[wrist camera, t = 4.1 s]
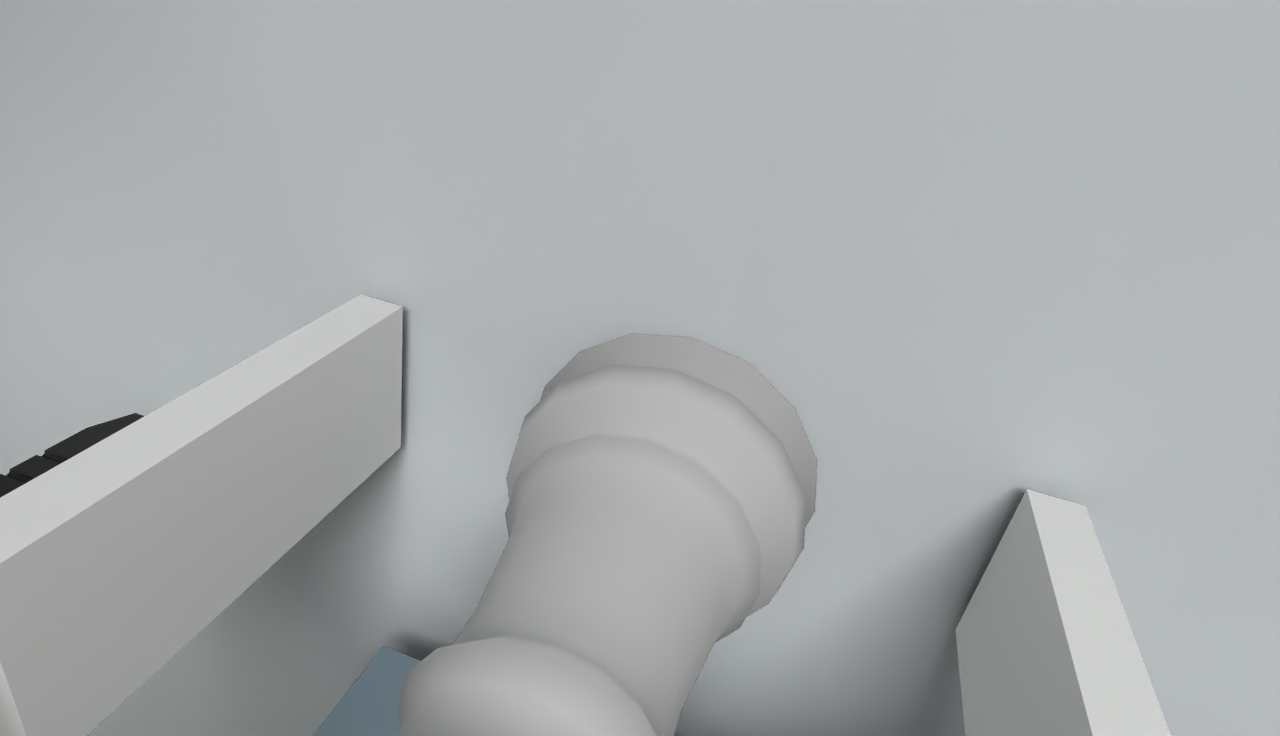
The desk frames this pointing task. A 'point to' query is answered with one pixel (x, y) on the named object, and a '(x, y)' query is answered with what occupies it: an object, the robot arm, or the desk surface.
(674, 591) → the rook chess piece
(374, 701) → the tray
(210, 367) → the desk surface
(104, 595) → the robot arm
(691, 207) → the desk surface
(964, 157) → the desk surface
